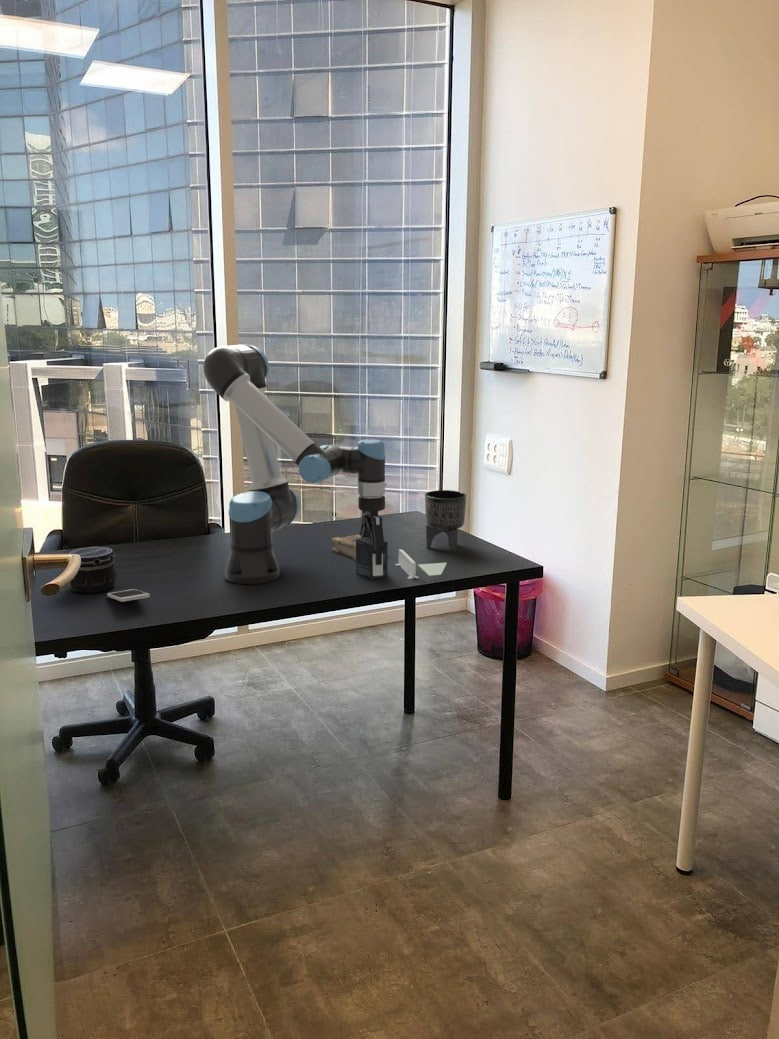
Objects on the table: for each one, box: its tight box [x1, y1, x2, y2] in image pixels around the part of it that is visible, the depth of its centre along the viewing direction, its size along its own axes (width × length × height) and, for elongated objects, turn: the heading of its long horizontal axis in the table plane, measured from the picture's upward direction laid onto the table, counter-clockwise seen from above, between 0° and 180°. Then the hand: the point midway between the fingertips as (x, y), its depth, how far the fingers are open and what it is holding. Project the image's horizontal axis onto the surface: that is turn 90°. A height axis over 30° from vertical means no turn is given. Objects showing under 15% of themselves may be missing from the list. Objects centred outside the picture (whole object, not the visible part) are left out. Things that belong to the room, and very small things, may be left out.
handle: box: [394, 549, 420, 580], centre depth 248 cm, size 3×14×5 cm, turn 15°
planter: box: [424, 489, 467, 553], centre depth 271 cm, size 13×13×18 cm
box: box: [355, 536, 388, 580], centre depth 245 cm, size 8×6×11 cm
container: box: [68, 546, 118, 594], centre depth 233 cm, size 13×13×10 cm
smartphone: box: [106, 588, 150, 603], centre depth 222 cm, size 7×15×1 cm, turn 32°
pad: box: [418, 562, 447, 577], centre depth 251 cm, size 9×11×1 cm
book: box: [331, 534, 361, 561], centre depth 268 cm, size 15×11×5 cm
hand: (371, 568), depth 246 cm, fingers open, 13 cm apart
